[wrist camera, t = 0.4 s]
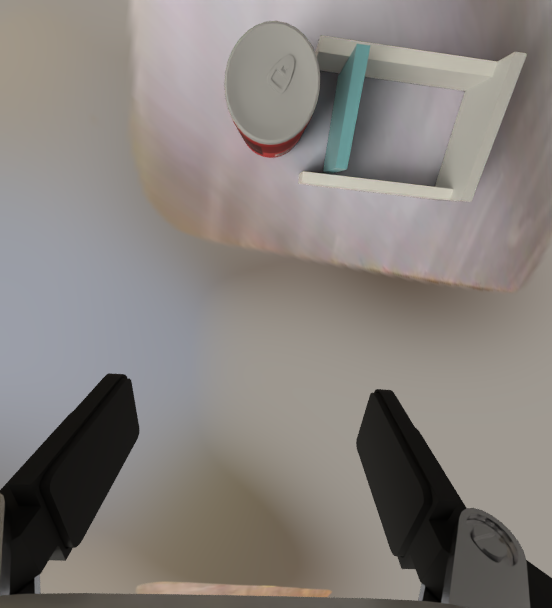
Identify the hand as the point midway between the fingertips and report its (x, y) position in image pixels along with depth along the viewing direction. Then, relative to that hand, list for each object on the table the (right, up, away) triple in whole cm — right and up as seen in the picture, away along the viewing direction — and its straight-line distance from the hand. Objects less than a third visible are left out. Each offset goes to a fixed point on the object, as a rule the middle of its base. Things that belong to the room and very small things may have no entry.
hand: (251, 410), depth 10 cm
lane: (+14, +25, +21) cm, 35 cm away
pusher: (+8, +25, +21) cm, 33 cm away
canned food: (+1, +26, +21) cm, 33 cm away
